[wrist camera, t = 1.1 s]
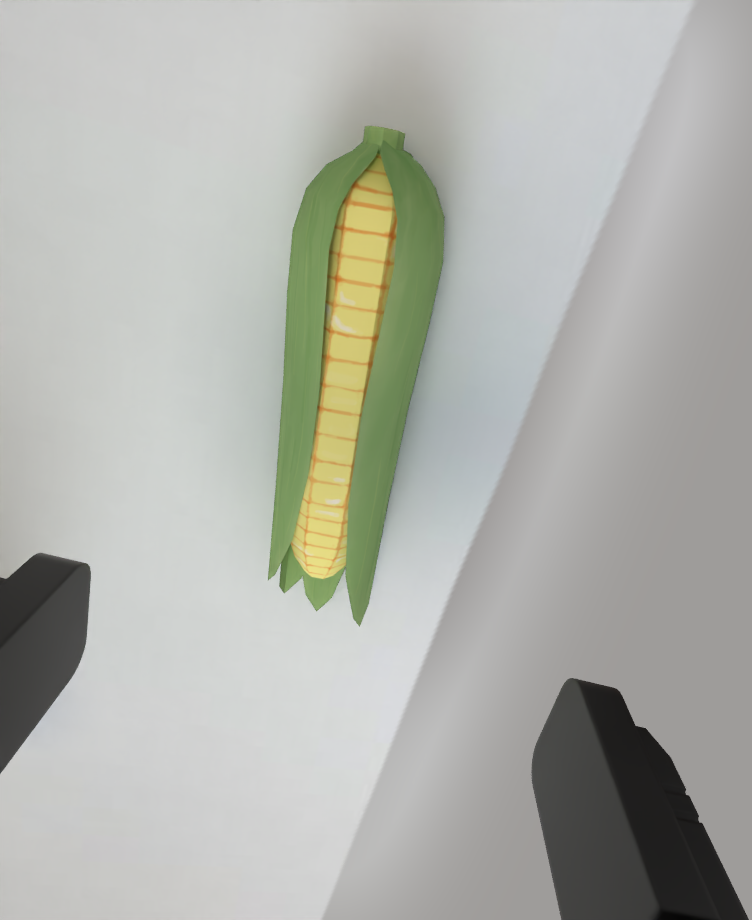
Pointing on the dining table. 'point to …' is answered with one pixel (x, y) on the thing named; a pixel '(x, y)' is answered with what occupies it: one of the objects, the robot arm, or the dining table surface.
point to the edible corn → (351, 360)
